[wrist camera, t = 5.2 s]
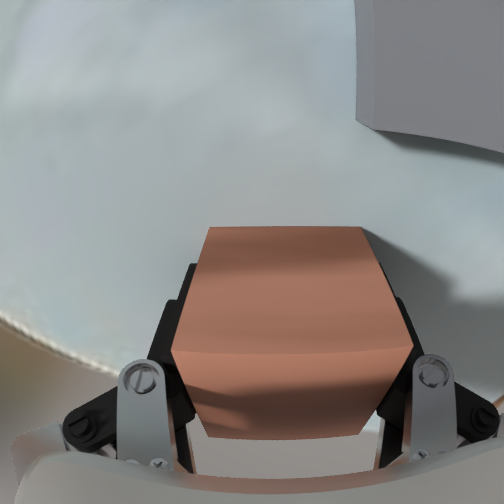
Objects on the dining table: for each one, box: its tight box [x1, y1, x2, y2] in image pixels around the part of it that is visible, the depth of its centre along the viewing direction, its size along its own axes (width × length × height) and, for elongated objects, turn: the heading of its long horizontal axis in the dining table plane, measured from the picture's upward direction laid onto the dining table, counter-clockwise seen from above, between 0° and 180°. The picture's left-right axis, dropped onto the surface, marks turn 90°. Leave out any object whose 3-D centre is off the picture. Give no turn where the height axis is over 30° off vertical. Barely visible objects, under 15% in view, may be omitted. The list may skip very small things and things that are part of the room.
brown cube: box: [171, 226, 414, 440], centre depth 9 cm, size 5×5×5 cm
